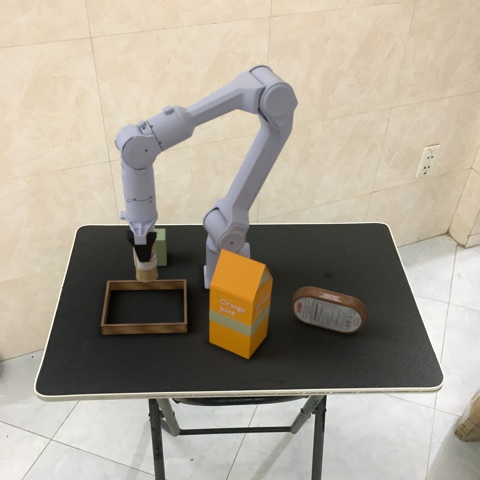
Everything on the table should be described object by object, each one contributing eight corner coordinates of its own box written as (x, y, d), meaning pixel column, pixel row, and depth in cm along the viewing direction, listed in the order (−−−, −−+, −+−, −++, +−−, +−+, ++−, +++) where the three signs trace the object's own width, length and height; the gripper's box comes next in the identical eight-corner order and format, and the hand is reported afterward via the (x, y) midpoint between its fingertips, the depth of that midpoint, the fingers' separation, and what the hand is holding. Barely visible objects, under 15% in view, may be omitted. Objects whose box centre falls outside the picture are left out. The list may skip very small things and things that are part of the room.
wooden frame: (186, 287, 119) (186, 279, 117) (187, 332, 108) (187, 324, 107) (108, 289, 117) (107, 280, 116) (102, 334, 107) (100, 326, 105)
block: (166, 254, 127) (165, 228, 122) (166, 265, 124) (165, 240, 119) (147, 254, 127) (145, 228, 122) (146, 266, 123) (144, 240, 119)
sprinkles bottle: (146, 286, 111) (141, 231, 102) (131, 277, 113) (124, 221, 104) (162, 276, 114) (159, 221, 105) (147, 267, 116) (142, 212, 107)
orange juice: (248, 359, 104) (255, 276, 90) (208, 342, 107) (209, 259, 93) (267, 335, 109) (276, 253, 95) (228, 319, 112) (232, 237, 98)
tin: (363, 330, 111) (371, 298, 105) (360, 340, 109) (369, 309, 103) (291, 311, 114) (296, 280, 109) (287, 321, 112) (292, 289, 106)
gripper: (120, 173, 105) (126, 233, 114) (114, 214, 95) (122, 276, 104) (157, 173, 106) (161, 232, 115) (155, 214, 95) (159, 275, 105)
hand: (145, 253), depth 110 cm, fingers closed on sprinkles bottle, 4 cm apart
